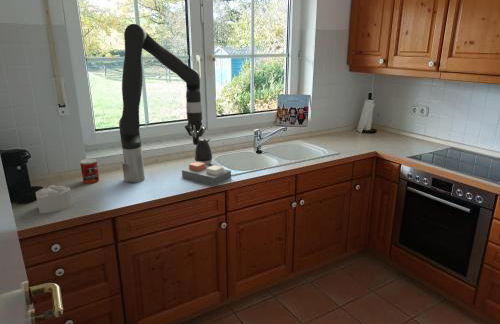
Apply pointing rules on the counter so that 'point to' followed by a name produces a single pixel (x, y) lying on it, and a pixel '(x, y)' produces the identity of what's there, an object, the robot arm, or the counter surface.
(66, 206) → the lumpy-topped squat cylinder
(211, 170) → the white key
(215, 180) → the key console
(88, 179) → the canned food
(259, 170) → the counter surface
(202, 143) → the pump dispenser
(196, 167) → the red key
